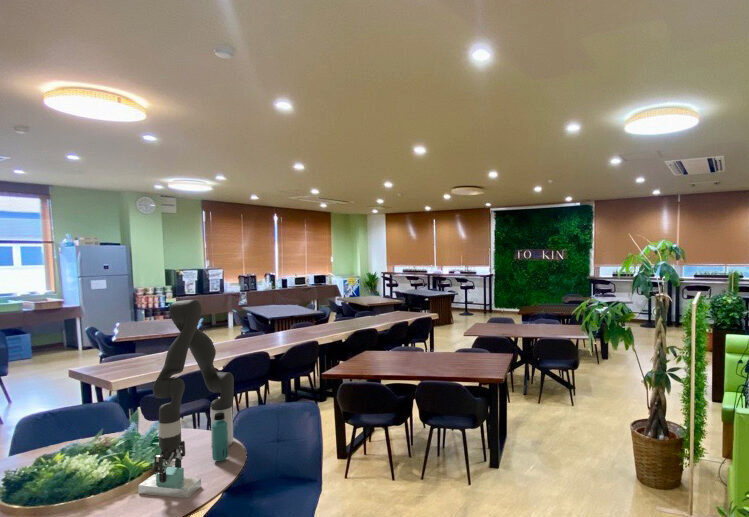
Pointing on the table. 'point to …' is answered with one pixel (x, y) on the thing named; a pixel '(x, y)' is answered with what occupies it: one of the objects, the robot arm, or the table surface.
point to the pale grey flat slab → (170, 487)
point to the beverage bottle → (219, 438)
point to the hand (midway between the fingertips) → (170, 476)
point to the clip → (172, 476)
